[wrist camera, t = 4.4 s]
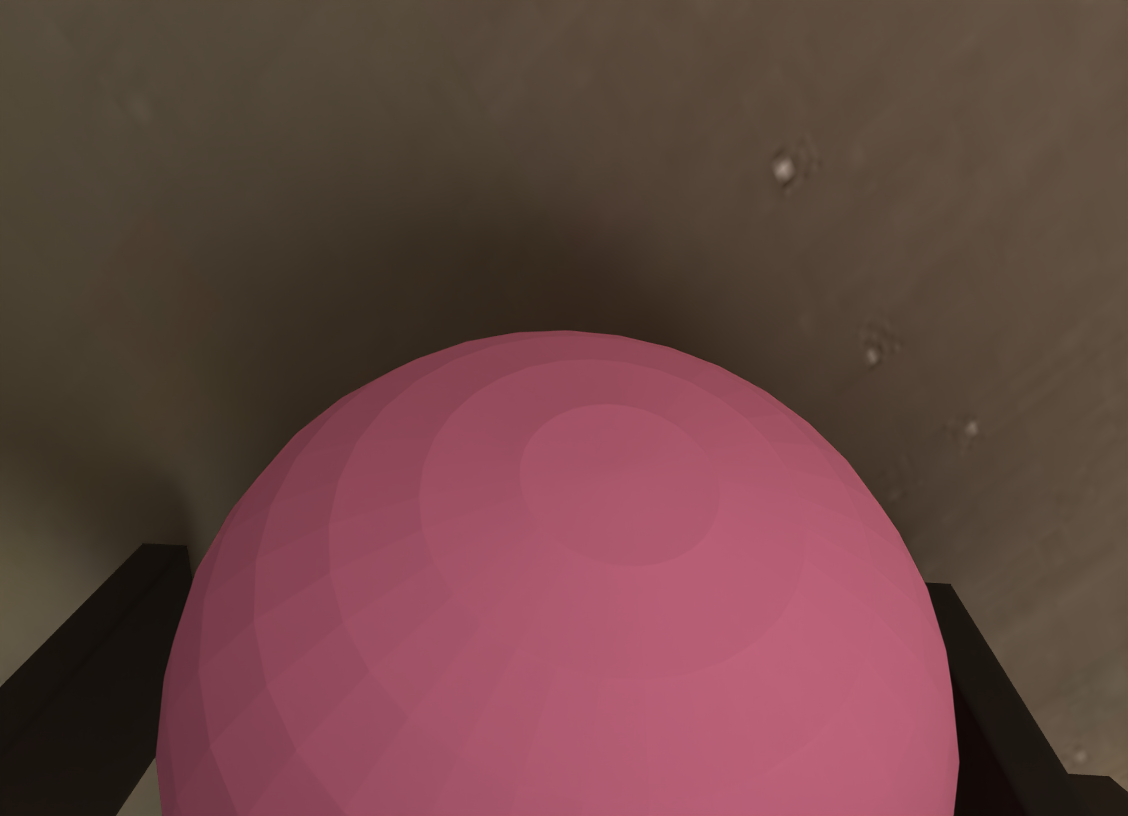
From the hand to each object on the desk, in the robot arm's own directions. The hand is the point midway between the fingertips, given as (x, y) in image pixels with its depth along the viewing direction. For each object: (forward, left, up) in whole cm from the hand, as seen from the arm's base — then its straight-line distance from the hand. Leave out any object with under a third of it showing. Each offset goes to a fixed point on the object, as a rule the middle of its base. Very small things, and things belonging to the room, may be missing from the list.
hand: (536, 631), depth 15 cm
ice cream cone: (0, 0, -1) cm, 1 cm away
